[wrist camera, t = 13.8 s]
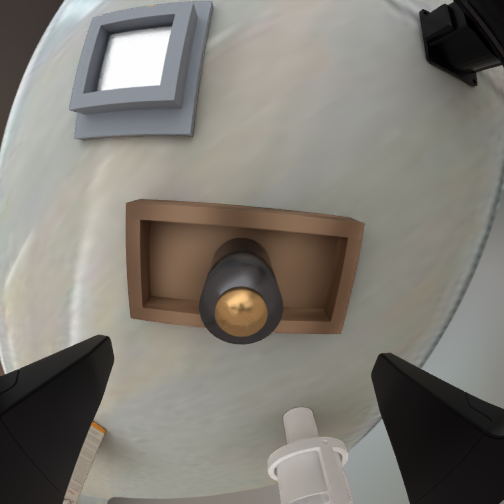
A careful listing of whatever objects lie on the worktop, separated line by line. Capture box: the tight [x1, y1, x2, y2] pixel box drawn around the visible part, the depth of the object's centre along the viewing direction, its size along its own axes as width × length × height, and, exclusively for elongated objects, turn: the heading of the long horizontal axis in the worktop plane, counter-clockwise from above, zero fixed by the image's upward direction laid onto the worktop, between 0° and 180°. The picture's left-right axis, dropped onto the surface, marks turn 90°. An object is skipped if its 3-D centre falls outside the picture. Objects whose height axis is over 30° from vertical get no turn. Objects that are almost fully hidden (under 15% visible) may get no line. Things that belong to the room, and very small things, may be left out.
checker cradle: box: [69, 1, 213, 140], centre depth 14 cm, size 9×11×3 cm
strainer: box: [267, 407, 354, 504], centre depth 17 cm, size 7×7×15 cm
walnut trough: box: [126, 199, 365, 334], centre depth 18 cm, size 15×8×2 cm, turn 85°
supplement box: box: [63, 422, 106, 504], centre depth 19 cm, size 8×5×13 cm, turn 139°
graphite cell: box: [199, 238, 283, 344], centre depth 16 cm, size 4×4×7 cm
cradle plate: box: [97, 26, 172, 91], centre depth 14 cm, size 5×5×1 cm
